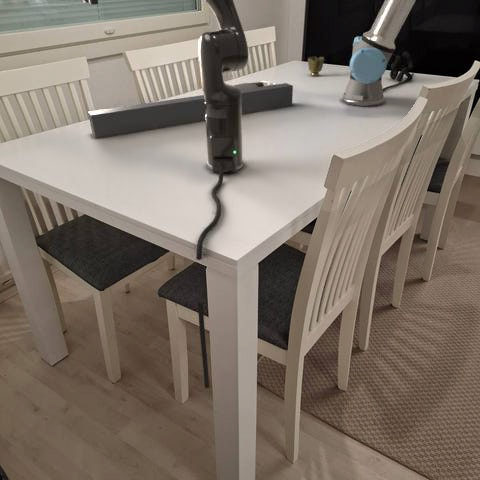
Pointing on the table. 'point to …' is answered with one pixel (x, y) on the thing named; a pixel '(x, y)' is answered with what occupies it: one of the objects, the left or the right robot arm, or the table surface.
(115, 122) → the bar
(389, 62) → the squiggle
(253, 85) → the spray bottle
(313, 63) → the cup
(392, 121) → the table surface
